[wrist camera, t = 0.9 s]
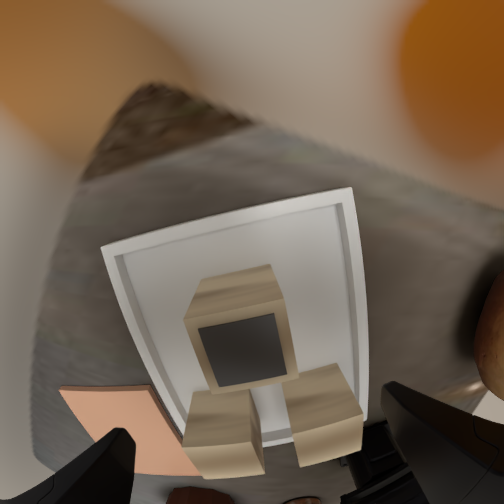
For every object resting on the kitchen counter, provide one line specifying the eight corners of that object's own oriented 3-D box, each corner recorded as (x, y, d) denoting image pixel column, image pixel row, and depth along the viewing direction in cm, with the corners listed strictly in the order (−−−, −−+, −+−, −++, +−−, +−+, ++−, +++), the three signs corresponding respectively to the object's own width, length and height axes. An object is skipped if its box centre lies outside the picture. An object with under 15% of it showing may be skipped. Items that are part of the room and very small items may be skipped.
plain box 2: (339, 400, 20) (361, 449, 14) (288, 414, 20) (300, 467, 14) (336, 362, 19) (363, 413, 13) (280, 377, 19) (292, 434, 13)
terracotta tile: (203, 470, 23) (202, 475, 22) (122, 466, 23) (121, 471, 22) (150, 384, 20) (147, 390, 19) (62, 385, 20) (58, 390, 19)
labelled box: (282, 325, 18) (299, 379, 12) (219, 338, 18) (211, 396, 12) (270, 263, 17) (284, 299, 11) (201, 279, 17) (182, 321, 11)
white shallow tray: (360, 408, 21) (366, 420, 20) (197, 440, 21) (195, 454, 20) (341, 187, 17) (351, 187, 15) (112, 242, 17) (100, 247, 16)
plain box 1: (260, 419, 20) (265, 473, 14) (210, 426, 20) (204, 479, 14) (248, 383, 19) (250, 441, 13) (192, 391, 19) (181, 447, 13)
